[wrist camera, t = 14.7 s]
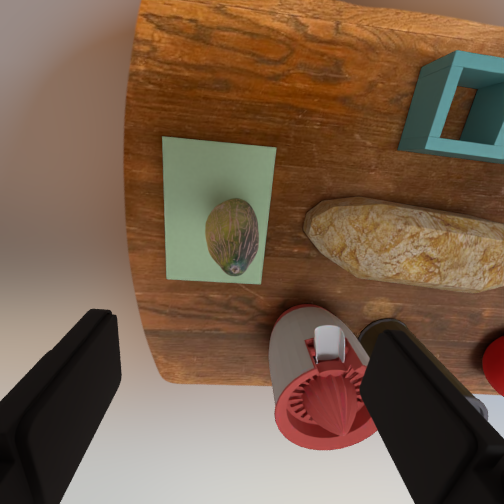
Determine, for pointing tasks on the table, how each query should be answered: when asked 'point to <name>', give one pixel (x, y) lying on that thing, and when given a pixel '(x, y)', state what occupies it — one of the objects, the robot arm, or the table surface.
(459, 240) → the bread
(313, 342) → the citrus juicer
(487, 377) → the tomato
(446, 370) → the canister
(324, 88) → the table surface
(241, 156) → the mat
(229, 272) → the vegetable
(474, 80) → the divided rectangular frame
